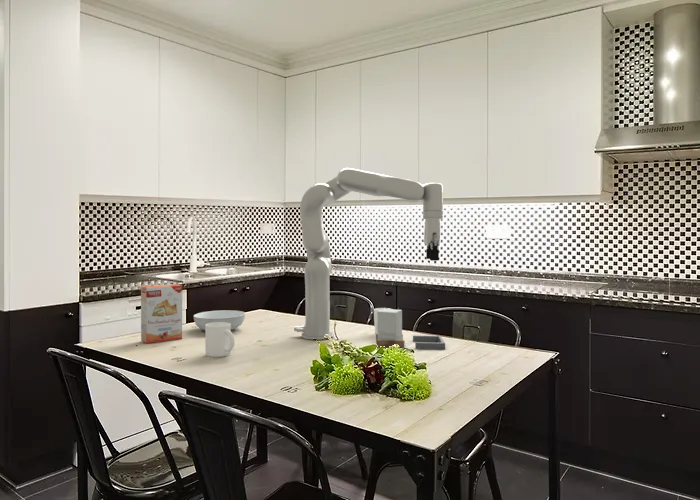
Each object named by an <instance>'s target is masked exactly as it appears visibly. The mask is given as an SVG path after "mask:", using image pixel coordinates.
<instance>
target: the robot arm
mask: <svg viewBox="0 0 700 500" xmlns="http://www.w3.org/2000/svg"><path fill="white" fill-rule="evenodd" d="M351 192H354V193H359V194H364V195H369V196H375V197H391V198H395V199H396V198H397V199H400V200H401V199H402V200H406V201H407V202H409V203H418V202H422V204H423V205H422V219H423V220H425V221H424V232H423V233H424V234H423V235H424V237H423V243H424V245H426V257H425V259H426V260H429V261H432V262H433V261H437V262H438V261H439V260H440V259H439V257H440V256H439V255H440V250H439V245H440V242H441V220H443V217H444V212H443V211H444V186H443V184H442V183H440V182H428V183H425V184H424V183H423V184H421V182H419V181H415V180H411V179H407V178H401V177H396V176H392V175H391V176H389V175H386V174H380V173H375V172H371V171H365V170H361V169H356V168H352V167H351V168H350V167H345V168H343V169H341V170H339V172H338V173H337V175H336V176H334V177H333V178H332V179H330V180H328V181H327V182H325V183H323V182H318V183H316V184H313V185H312V186H311V187H309V188H308V189H307V190H306V191H305V192H304V194H303V196H302V198H301V201H300V207H299V208H300V209H299V210H300V223H301V224H300V225H301V233H302V234H301V235H302V244H303V247H304V249H305V250H306V257H307V262H306V263H305V267H304V285H305V286H304V288H305V291H304V293H305V294H304V296H305V314H304V315H305V317H304V318H305V321H304V323H305V324H304V325H302V326H298V325H296V326H295V325H294V327H293V329H294V330H293V331H294V332H296V333H298V332H299V333H300V332H301V334H300V335H301V338H302V339H305V340H313V338H314V339H317V340H316V341H321V340H322V339H323V340H325V339H324V338H325V337H324V335H325V334H328V335H329V336H331V337H332V338H334V336H335V335H334V333H333V332H331V331H330V330H331V329H330V324H331V323H330V322H331V321H330V320H331V319H330V318H331V316H330V315H331V314H330V313H331V310H330V309H331V301H330V299H331V298H330V297H331V296H330V295H331V293H330V291H331V290H330V283H331V281H330V275H331V272H332V258H331V248H330V240H329V238H328V234H327V233H326V231H325V228H324V218H323V207H327V206H329V205H331V204H333V203H335V202H336V201H338V200H340V199H342V198H343V197H345V196H346V195H349V194H350V193H351ZM323 340H322V341H323ZM313 341H314V340H313Z"/></svg>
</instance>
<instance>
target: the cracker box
mask: <svg viewBox="0 0 700 500" xmlns="http://www.w3.org/2000/svg"><path fill="white" fill-rule="evenodd" d="M182 339H183V285H182V284H178V283H175V284H174V283H173V284H172V283H171V284H156V285H141V287H140V342H143V343H145V344H152V343H153V344H154V343H159V342H160V343H161V342H168V341H175V340H182Z"/></svg>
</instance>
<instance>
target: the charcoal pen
mask: <svg viewBox="0 0 700 500" xmlns="http://www.w3.org/2000/svg"><path fill="white" fill-rule="evenodd" d="M431 341H433V342H431ZM434 341H438V342H434ZM412 342H415V345H414V346H415V349H418V350H419V349H422V350H423V349H425V350H427V349H429V350H430V349H431V350H446V342H445V341H444V339H443V338H442V336H441V335H412Z"/></svg>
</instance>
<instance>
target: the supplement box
mask: <svg viewBox="0 0 700 500" xmlns="http://www.w3.org/2000/svg"><path fill="white" fill-rule="evenodd" d="M377 313H378V340H402V334H403V310H402V309H393V308H390V309H383V310H380V311H378V312H377Z"/></svg>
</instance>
